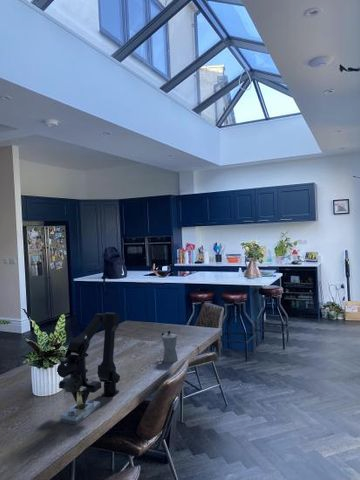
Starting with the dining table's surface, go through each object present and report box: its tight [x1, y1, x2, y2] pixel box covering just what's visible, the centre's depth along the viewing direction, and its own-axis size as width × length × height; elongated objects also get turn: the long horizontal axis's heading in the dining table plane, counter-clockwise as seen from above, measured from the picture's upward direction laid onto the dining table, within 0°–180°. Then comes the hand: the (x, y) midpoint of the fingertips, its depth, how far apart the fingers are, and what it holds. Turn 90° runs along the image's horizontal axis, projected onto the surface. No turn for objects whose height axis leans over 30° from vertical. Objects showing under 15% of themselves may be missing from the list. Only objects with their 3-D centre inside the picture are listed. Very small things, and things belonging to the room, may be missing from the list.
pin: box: [76, 388, 85, 410], centre depth 165 cm, size 3×3×8 cm
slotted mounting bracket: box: [59, 399, 101, 426], centre depth 165 cm, size 18×8×4 cm, turn 159°
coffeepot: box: [161, 330, 178, 364], centre depth 229 cm, size 15×9×18 cm, turn 33°
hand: (80, 404), depth 165 cm, fingers closed on pin, 3 cm apart
